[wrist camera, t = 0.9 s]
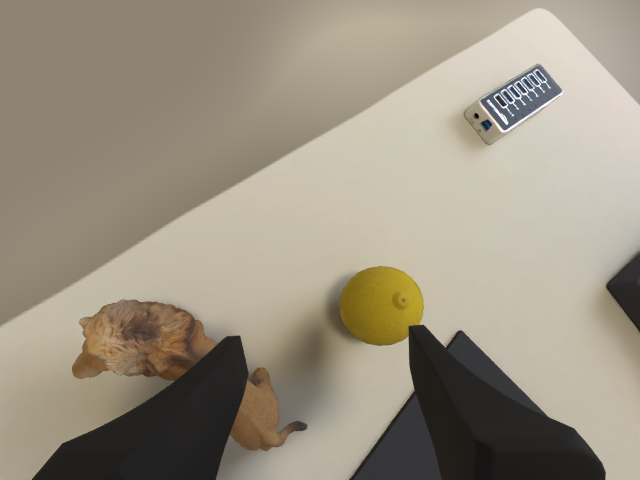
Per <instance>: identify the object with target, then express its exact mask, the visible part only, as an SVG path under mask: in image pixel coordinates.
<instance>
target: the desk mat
mask: <svg viewBox="0 0 640 480" xmlns="http://www.w3.org/2000/svg"><path fill="white" fill-rule="evenodd" d="M446 349H447V350H448V351H449V352H450V353H451V354H452V355H453V356H454V357H455V358H457V359H458V360H459V361H460V362H461V363H462V364H463V365H464V366H466V367H467V368H468V369H469V370H470V371H472V372H473V373H474V374H475V375H477V376H478V377H480V378H481V379H482V380H484V381H485V382H486V383H488V384H489V385H491V386H492V387H494V388H495V389H497V390H498V391H500V392H502V393H503V394H505V395H507V396H508V397H510V398H512V399H513V400H515V401H517V402H519V403H521V404H522V405H524V406H526V407H528V408H530V409H532V410H534V411H536V412H538V413H540V414H542V415H544V416H546V417H548V416H547V415H546V414H545V413H544V412H543V411H542V410H541V409H540V408H539V407H538V406H537V405H536V404H535V403H534V402H533V401H532V400H531V399H530V398H529V397H528V396H527V395H526V394H525V393H524V392H523V391H522V390H521V389H520V388H519V387H518V386H517V385H516V384H515V383H514V382H513V381H512V380H511V379H510V378H509V377H508V376H507V375H506V374H505V373H504V372H503V371H502V370H501V369H500V368H499V367H498V366H497V365H496V364H495V363H494V362H493V361H492V360H491V359H490V358H489V357H488V356H487V355H486V354H485V353H484V352H483V351H482V350H481V349H480V348H479V347H478V346H477V345H476V344H475V343H474V342H473V341H472V340H471V339H470V338H469V337H468V336H467V335H466V334H465V333H464V332H463V331H458V333H457V334H456V336H455V337H454V338H453V340H452V341H451V342H450V344H449V345H448V347H447V348H446ZM351 480H442V478H441V474H440V470H439V466H438V462H437V457H436V453H435V450H434V446H433V443H432V440H431V437H430V434H429V431H428V428H427V425H426V422H425V419H424V416H423V413H422V410H421V407H420V404H419V401H418V398H417V395H416V392H414V393H413V395H412V396H411V397H410V399H409V400H408V402H407V403H406V404H405V406H404V407H403V408H402V410H401V411H400V413H399V414H398V415H397V417H396V418H395V419H394V421H393V422H392V424H391V425H390V426H389V428H388V429H387V430H386V432H385V433H384V435H383V436H382V437H381V439H380V440H379V441H378V443H377V444H376V446H375V447H374V448H373V450H372V451H371V452H370V454H369V455H368V457H367V458H366V459H365V461H364V462H363V463H362V465H361V466H360V468H359V469H358V470H357V472H356V473H355V474H354V476H353V477H352V479H351Z"/></svg>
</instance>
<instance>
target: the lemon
mask: <svg viewBox="0 0 640 480" xmlns="http://www.w3.org/2000/svg"><path fill="white" fill-rule="evenodd" d="M423 310H424V303H423V297H422V294H421V291H420V289H419V287H418V285H417V284H416V282H415V281H414V280H413V279H412V278H411V277H410V276H409V275H407V274H406V273H404V272H403V271H400V270H398V269H395V268H392V267H383V266H379V267H372V268H368V269H365V270H363V271H361V272H359V273H357V274H356V275H355V276H354V277H352V278H351V279H350V280H349V282H348V283H347V284H346V286H345V287H344V289H343V292H342V294H341V298H340V313H341V317H342V320H343V322H344V324H345V326H346V327H347V329H348V330H349V332H350V333H352V334H353V335H354V336H355V337H356V338H357V339H359V340H361V341H363V342H365V343H367V344H372V345H377V346H382V345H392V344H395V343H397V342H400V341H402V340H404V339H406V338H407V337H408V336H409V329H408V326H412V325H419V324H420V321H421V319H422V316H423Z"/></svg>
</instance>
